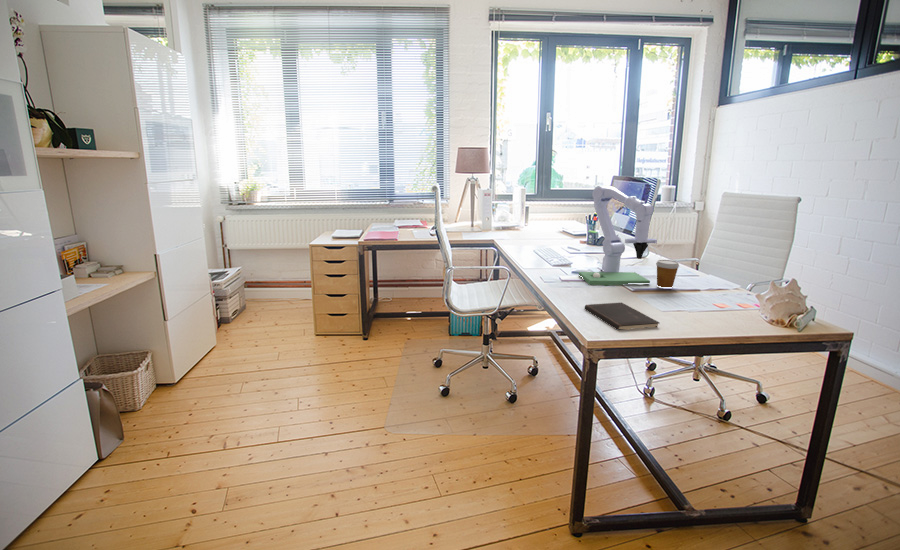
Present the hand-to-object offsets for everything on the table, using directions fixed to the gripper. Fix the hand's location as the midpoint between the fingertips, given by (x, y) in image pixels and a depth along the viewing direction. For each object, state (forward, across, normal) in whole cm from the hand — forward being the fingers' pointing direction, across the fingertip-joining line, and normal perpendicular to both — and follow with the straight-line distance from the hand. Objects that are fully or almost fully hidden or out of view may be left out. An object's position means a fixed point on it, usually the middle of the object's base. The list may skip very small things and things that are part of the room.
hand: (639, 258), depth 225 cm
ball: (+8, -20, -2) cm, 22 cm away
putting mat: (+10, -12, -2) cm, 16 cm away
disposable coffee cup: (+11, +7, -14) cm, 19 cm away
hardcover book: (+12, -30, -54) cm, 63 cm away
